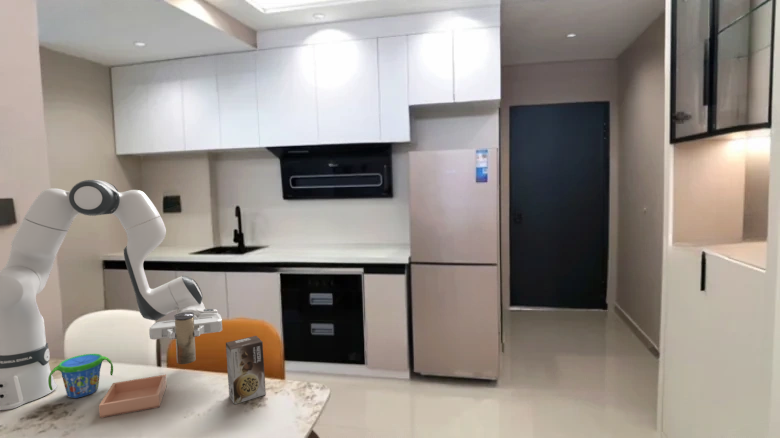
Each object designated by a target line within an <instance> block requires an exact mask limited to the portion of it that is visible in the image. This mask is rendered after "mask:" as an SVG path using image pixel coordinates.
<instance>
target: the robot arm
mask: <svg viewBox="0 0 780 438" xmlns="http://www.w3.org/2000/svg"><path fill="white" fill-rule="evenodd" d="M78 215H85V216H90V217H91V216H92V217H93V216H94V217H95V216H102V215H103V216H104V215H113V216H114V217H116V219H118V220H119V222H120V224H121V226H122V228H123V230H124V232H125V233H126V238H127V244H126V246H125V247H124V249H123V257H124V262H125V265H126V269H127V272H128V275H129V279H130V282H131V285H132V287H133V291H134V294H135V299H136V303H137V309H138V312H139V313H140V316H142V318H143V319H146V320H150V321H156V322H155V323H153V324H152V325H150V327H149V329H148V331H149V339H150V340H153V341H154V340H161V339H168V338H169V340H176V332H175V319H168V320H160V319H161V318H164V317H165V316H167V315H168V314H170V313H172V312H175V311H177V310H178V311H177V313H176V314H179V313H183V312H193V313H194V337H195V338H196V337H200V336H201V335H204V334H213V333H220V332H222V331H223V318H222V315H221V314H220V313H219V312H218V309H216V308H214V309H213V308H206V307H205V304H204V302H203V293H202V290H201V288H200V286H199V284H198V283H197V282H196V280H194V279H193V278H192V277H189V276H186V275H181V276H179V277H176V278H173V279H171V280H170V281H168V282H166V283H163V284H162V285H159V286H157V287H155V288H151V287H150V285H149V282H148V278H147V275H146V272H145V269H144V262H145V260H146V259H147V258H148V256H149V255H150V254H151V253H152V252H154V251H155V250H156V249H157V248H158V247H159V246H160V245H161V244H162V243H163V241H164V240H165V238H166V235H167V228H166V225H165V222H164V220H163V218H162V216H161V215H160V212H159V211H158V208H157V207H156V206H155V204H154V203H153V201H152V200H151V199H150V198H149V197H148V195H147V194H146V193H145V192H144V191H142V190H140V189H139V190H138V189H130V190H126V191H120V192H119V190H118V188H117V187H116V186H115V185H114V184H112V183H110V182H107V181H105V180H102V179H86V180H82V181H79V182H77V183H76V184H75V185H74V186H72V187H71V189H70V191H69V190H64V189H62V188H57V187H56V188H55V187H52V188H46V189H44V190H42V191H41V192H40V194H38V196H36V198H35V200H34V201H33V202H32V203H31V205H30V206H29V208H28V209H27V212H26V213H25V215H24V217H23V219H22V221H21V223H20V225H19V226H18V229H17V231H16V233H15V234H14V236H13V237H12V241H11V244H10V245H11V247H10V252H9V256H8V259H7V262H6V264H5V265H4V267H3V268H2V269H0V411H5V410H12V409H16V408H18V407H21V406H23V405H24V404H27V403H30V402H32V401H36V400H39V399H41V398H43V397H44V396H48V395H49V394H50V393H52V392H54V391H55V390H56V389H57V387H58V385H57V383H56V381H55V378H54V376H53V374H52V375H51V385H52V389H53V390H50V388H49V383H48V378H49V375H50V373H51V371H52V370H51V367H50V357H51V356H50V354H51V353H50V349H49V343H48V342H47V340H46V339H47V338H46V328H45V318H44V317H43V315H42V313H41V312H40V309H39V308H40V307H39V306H38V302H37V295H39V294H40V293H41V292H42V291H43V290H44V288H45V287H46V285H47V283H48V280H49V277H50V275H51V273H52V270H53V267H54V264H55V261H56V258H57V256H58V253H59V250H60V248H61V246H62V244H63V243H64V241H65V238H66V236H67V234H68V232H69V231H70V228H71V226H72V224H73V222H74V220H75V219H76V218H77V217H78ZM158 320H160V321H158Z"/></svg>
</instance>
